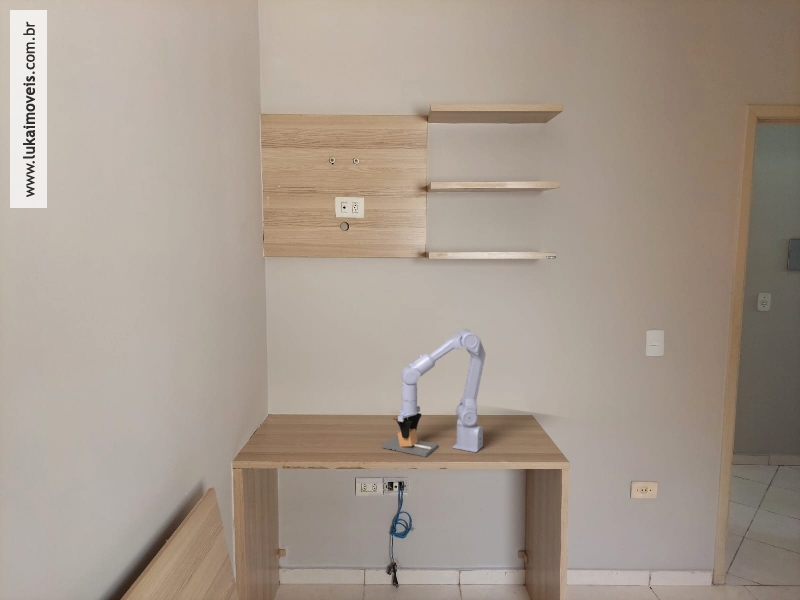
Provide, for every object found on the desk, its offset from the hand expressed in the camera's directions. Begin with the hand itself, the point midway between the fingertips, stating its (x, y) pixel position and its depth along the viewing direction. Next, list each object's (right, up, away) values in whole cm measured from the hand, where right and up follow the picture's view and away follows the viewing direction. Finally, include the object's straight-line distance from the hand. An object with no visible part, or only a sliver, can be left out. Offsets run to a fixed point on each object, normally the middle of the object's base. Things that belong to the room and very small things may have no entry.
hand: (409, 435), depth 191 cm
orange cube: (0, -3, 0) cm, 3 cm away
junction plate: (0, -5, +1) cm, 5 cm away
